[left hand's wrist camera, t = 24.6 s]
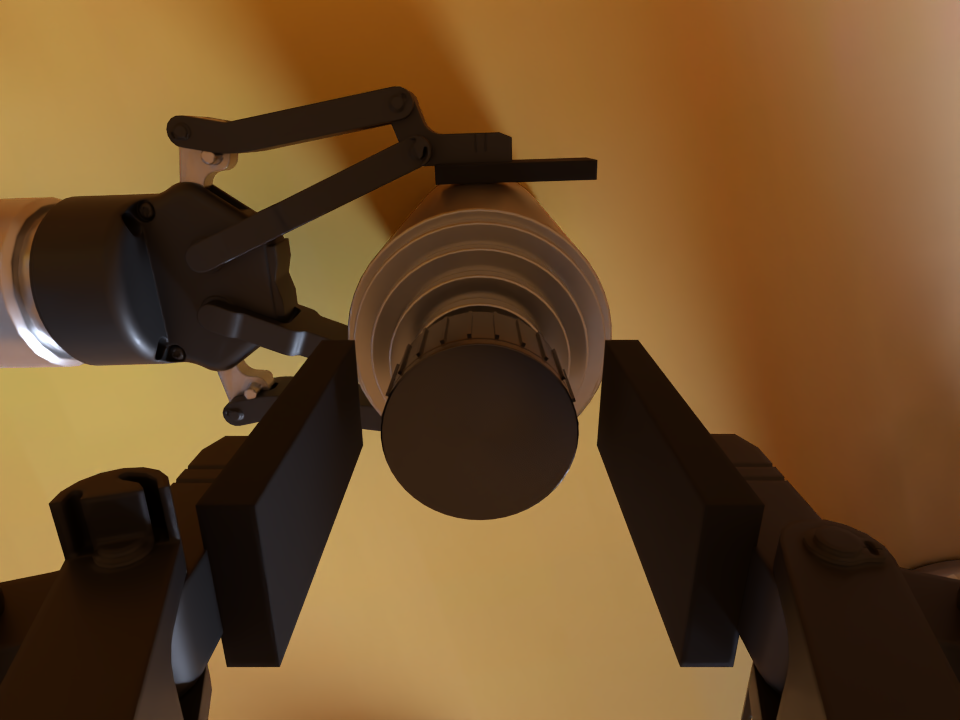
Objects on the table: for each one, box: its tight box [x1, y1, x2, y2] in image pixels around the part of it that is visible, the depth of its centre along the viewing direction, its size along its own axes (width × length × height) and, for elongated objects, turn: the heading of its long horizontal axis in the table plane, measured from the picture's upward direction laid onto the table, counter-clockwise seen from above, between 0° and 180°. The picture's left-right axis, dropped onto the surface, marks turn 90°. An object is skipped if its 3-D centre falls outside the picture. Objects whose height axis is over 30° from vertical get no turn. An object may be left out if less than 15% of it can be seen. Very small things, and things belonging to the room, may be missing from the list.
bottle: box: [348, 182, 612, 417], centre depth 23 cm, size 8×8×21 cm
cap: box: [381, 311, 579, 520], centre depth 13 cm, size 4×4×2 cm
